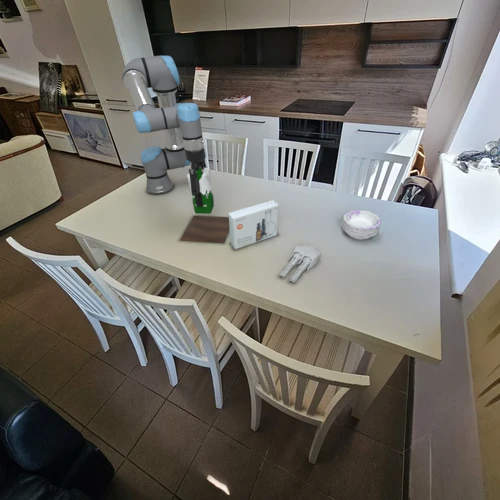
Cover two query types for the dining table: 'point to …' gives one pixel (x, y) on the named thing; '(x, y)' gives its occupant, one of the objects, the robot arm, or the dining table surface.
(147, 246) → the dining table surface
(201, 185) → the soya milk
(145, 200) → the dining table surface
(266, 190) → the dining table surface
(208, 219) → the walnut board
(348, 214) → the paper bowls
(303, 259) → the turret
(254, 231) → the skincare box
